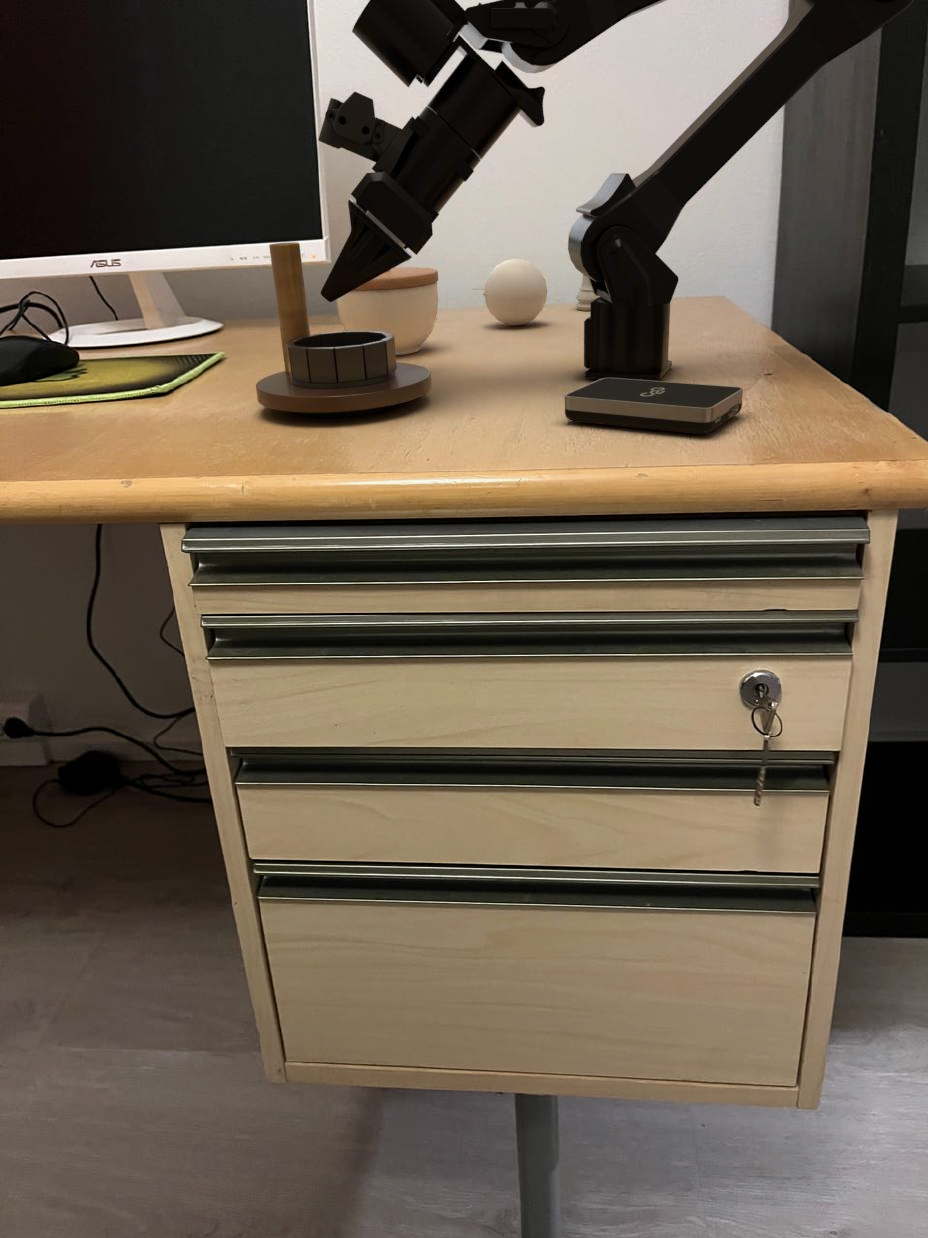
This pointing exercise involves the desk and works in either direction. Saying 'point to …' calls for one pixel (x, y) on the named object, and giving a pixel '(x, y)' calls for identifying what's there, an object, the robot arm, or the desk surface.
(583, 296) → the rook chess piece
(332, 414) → the turntable hub
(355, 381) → the turntable
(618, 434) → the desk surface
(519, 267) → the seamed sphere
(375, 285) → the trinket box
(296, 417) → the desk surface
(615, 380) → the external hard drive
